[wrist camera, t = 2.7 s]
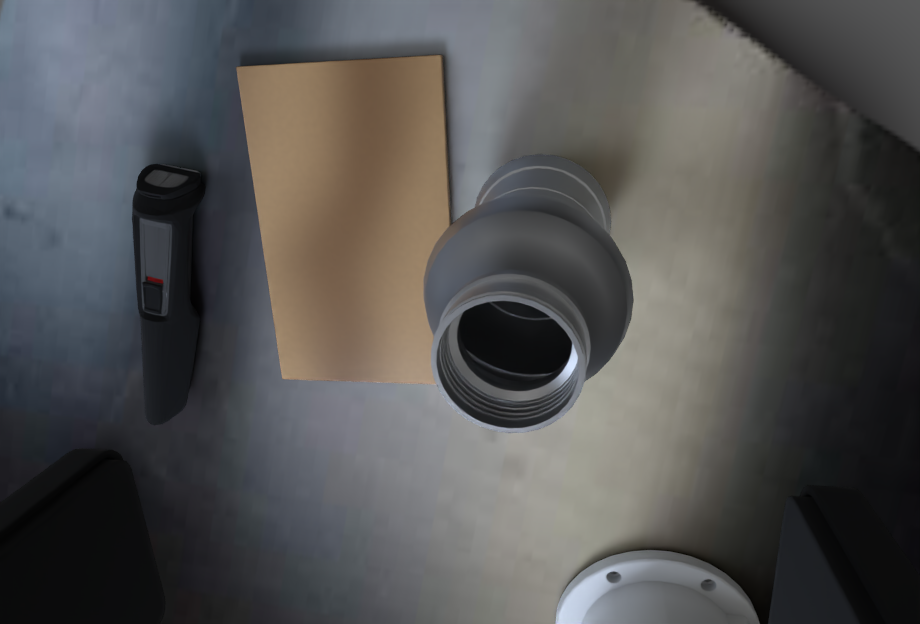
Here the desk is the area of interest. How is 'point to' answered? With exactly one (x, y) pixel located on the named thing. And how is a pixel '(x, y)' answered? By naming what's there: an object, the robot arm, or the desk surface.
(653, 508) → the desk surface
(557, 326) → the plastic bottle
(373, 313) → the wooden board
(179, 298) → the electric trimmer
